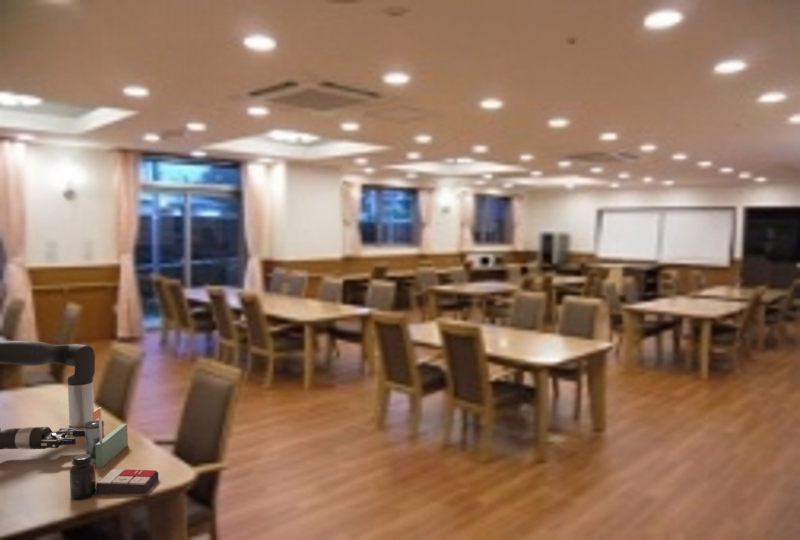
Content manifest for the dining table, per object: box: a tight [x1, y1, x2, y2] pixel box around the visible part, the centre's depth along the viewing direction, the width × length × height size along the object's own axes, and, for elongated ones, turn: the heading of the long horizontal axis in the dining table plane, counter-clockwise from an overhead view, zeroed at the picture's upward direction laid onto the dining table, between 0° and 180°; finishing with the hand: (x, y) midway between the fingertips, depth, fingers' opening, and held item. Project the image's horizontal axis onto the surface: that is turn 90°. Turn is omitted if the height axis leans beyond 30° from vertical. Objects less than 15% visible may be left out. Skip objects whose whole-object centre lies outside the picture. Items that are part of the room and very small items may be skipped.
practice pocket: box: [71, 407, 129, 469], centre depth 214 cm, size 25×12×20 cm, turn 3°
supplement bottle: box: [69, 453, 97, 501], centre depth 183 cm, size 7×7×12 cm
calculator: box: [95, 468, 159, 495], centre depth 190 cm, size 11×4×15 cm
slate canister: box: [83, 419, 105, 459], centre depth 216 cm, size 6×6×12 cm
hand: (81, 437), depth 216 cm, fingers open, 8 cm apart
